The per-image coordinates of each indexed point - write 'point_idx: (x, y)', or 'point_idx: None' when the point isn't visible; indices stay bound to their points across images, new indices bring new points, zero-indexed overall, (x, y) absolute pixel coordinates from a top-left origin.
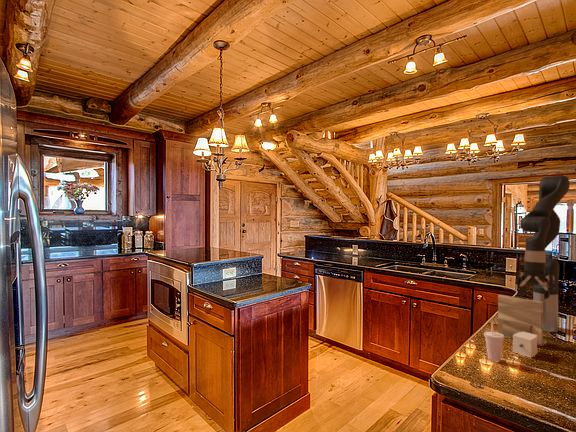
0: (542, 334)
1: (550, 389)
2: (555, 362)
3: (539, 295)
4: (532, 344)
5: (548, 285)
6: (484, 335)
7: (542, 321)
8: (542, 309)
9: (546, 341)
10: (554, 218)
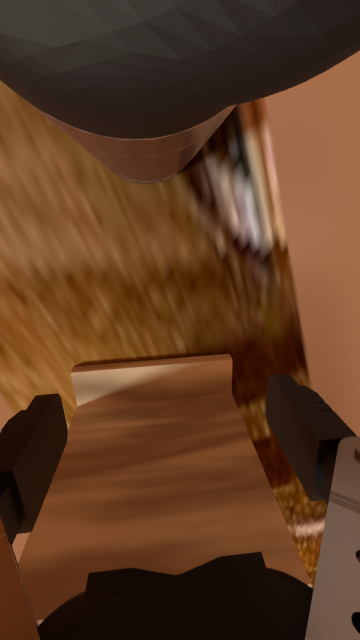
0: (240, 418)
1: (311, 579)
2: (290, 474)
3: (113, 145)
4: None
5: (314, 68)
6: None
7: (259, 464)
8: (286, 530)
9: (231, 358)
10: None
